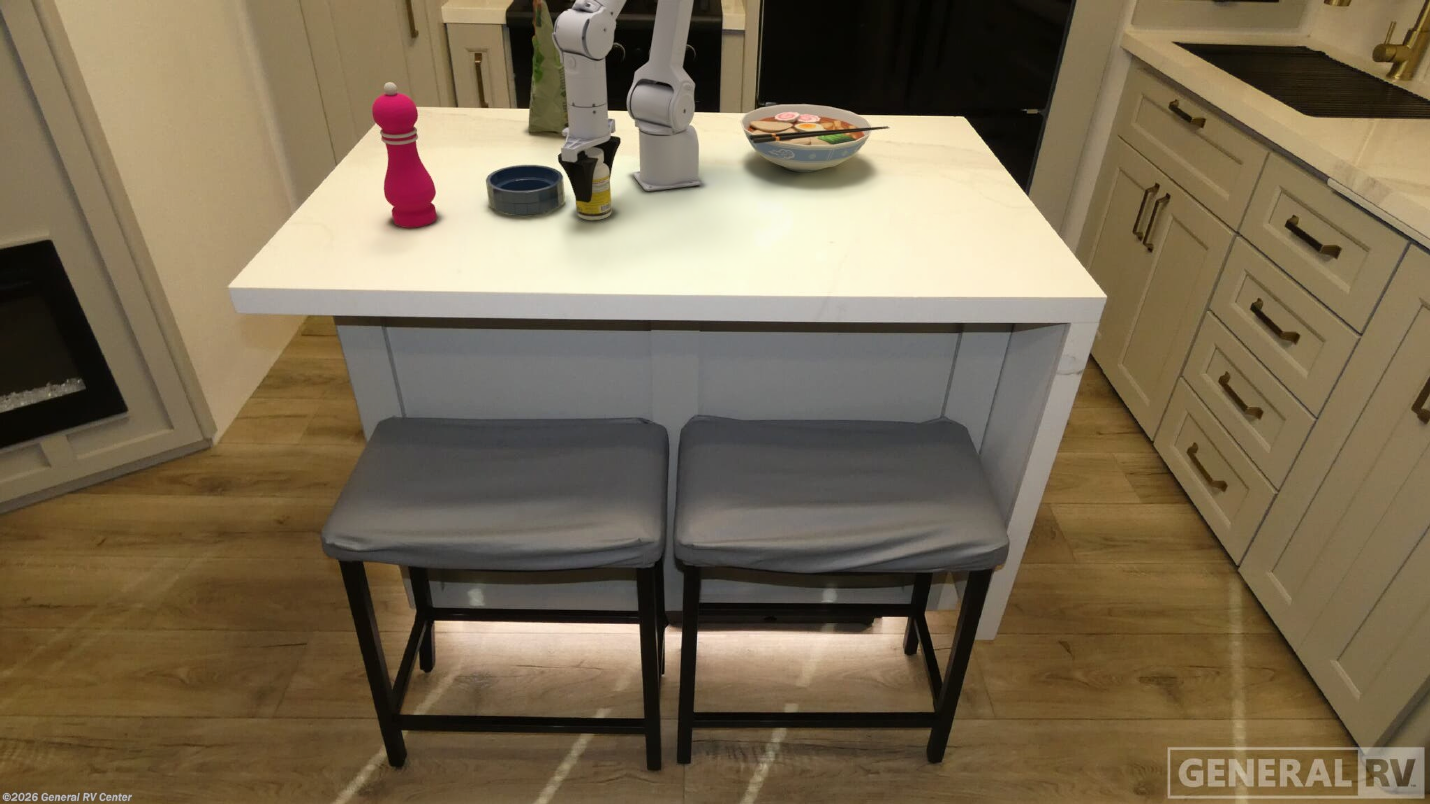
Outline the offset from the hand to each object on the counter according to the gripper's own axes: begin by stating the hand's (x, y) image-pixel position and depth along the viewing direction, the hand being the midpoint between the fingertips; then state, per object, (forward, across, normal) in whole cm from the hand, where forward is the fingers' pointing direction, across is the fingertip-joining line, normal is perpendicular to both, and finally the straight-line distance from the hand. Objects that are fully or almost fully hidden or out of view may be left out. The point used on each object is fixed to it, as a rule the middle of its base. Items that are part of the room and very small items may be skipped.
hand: (592, 192), depth 131 cm
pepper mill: (+4, +11, -24) cm, 27 cm away
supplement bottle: (+4, 0, 0) cm, 4 cm away
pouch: (+4, -34, -24) cm, 41 cm away
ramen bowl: (+4, -32, +25) cm, 41 cm away
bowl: (+3, 0, -11) cm, 12 cm away
